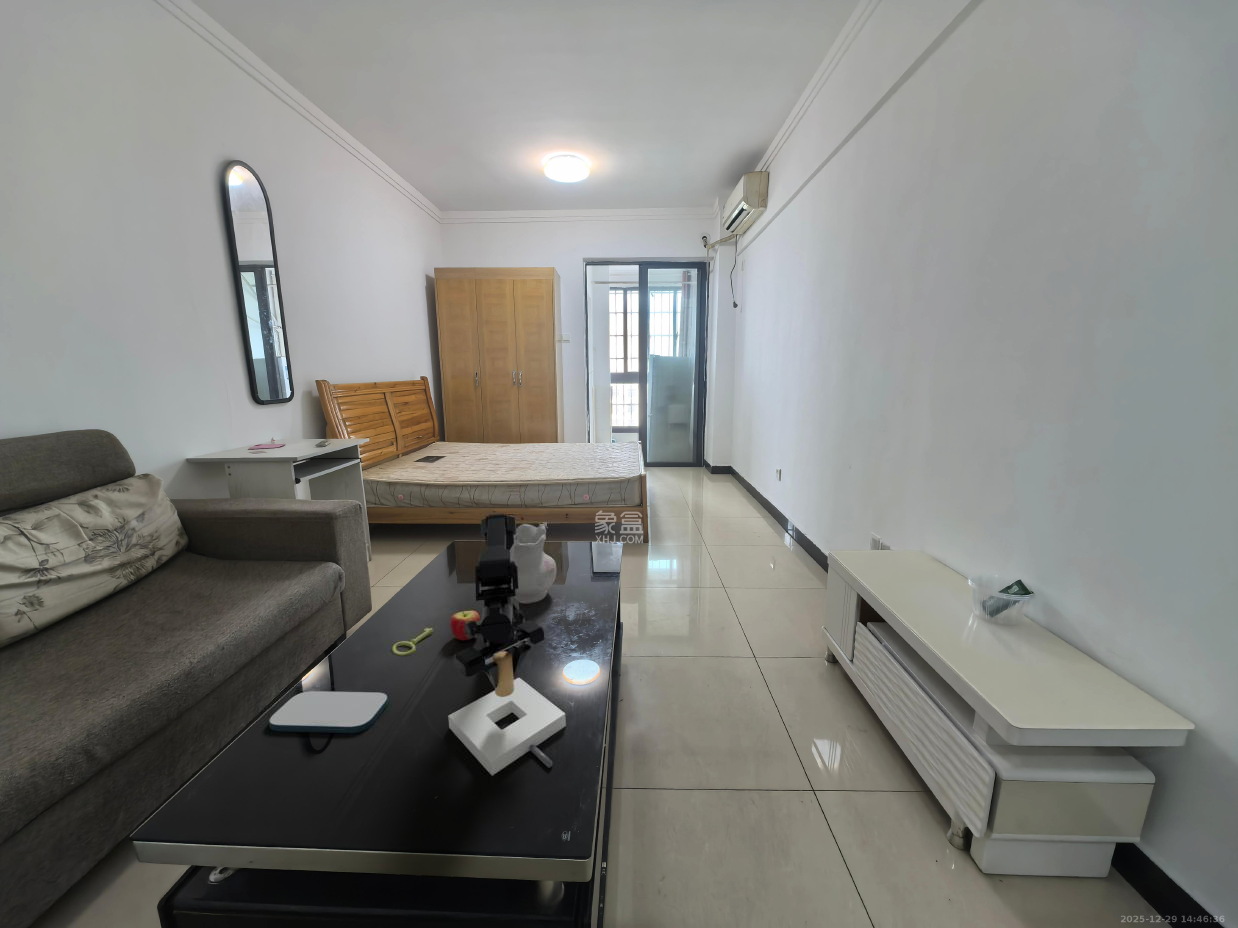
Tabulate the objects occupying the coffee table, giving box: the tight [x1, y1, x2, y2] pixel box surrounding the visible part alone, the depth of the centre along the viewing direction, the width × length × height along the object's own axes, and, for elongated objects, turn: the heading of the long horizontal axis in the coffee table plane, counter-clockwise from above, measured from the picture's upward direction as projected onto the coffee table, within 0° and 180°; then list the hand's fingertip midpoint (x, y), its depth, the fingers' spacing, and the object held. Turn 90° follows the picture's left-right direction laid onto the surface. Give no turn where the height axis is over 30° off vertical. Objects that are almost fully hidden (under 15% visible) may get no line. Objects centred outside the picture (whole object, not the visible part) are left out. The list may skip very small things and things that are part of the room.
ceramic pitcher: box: [510, 523, 557, 605], centre depth 160 cm, size 22×20×25 cm
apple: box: [449, 608, 481, 641], centre depth 138 cm, size 8×8×10 cm
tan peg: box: [493, 652, 515, 697], centre depth 101 cm, size 4×4×8 cm
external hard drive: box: [268, 690, 389, 734], centre depth 108 cm, size 24×12×2 cm, turn 87°
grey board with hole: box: [447, 677, 567, 776], centre depth 100 cm, size 18×24×3 cm
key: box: [392, 627, 434, 656], centre depth 136 cm, size 7×12×2 cm, turn 169°
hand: (504, 681), depth 101 cm, fingers closed on tan peg, 4 cm apart
